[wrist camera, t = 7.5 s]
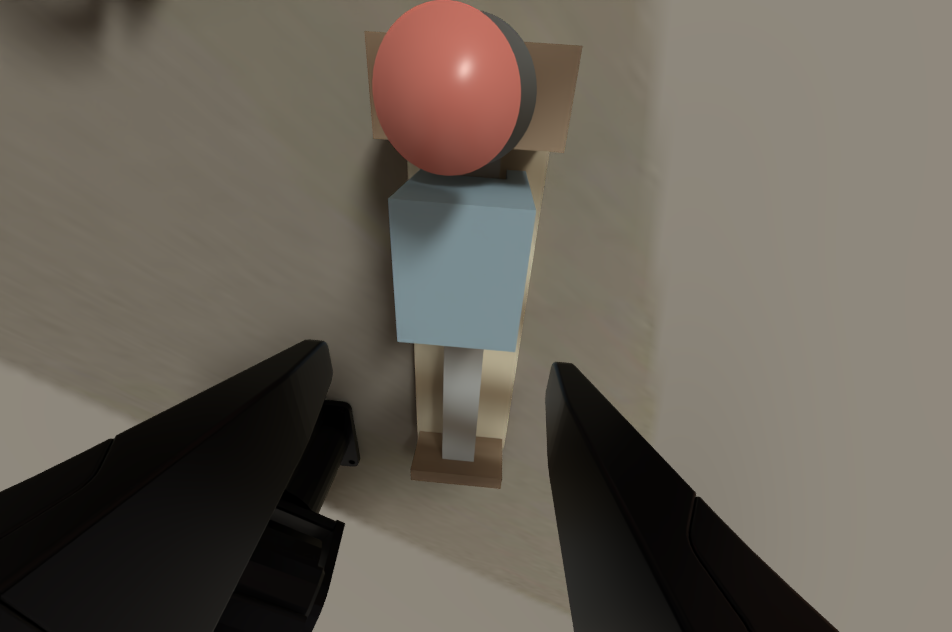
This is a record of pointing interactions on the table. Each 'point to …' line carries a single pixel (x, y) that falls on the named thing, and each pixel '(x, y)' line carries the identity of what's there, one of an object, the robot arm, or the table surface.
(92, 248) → the table surface
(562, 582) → the table surface
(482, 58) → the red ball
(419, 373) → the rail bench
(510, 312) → the light blue block
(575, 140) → the table surface
